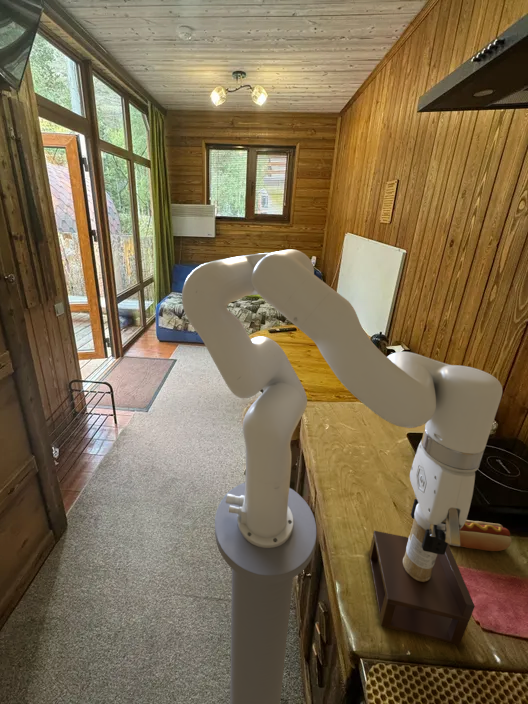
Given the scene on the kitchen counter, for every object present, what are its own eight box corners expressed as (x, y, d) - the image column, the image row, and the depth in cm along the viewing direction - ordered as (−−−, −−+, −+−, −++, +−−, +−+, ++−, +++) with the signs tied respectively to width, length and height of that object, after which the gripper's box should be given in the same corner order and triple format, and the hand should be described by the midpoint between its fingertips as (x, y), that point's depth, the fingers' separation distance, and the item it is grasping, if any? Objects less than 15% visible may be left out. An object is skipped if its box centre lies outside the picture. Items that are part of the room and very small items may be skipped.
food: (495, 533, 69) (501, 516, 67) (513, 558, 63) (520, 541, 62) (429, 525, 70) (434, 509, 69) (441, 550, 65) (447, 532, 63)
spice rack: (381, 626, 53) (391, 586, 49) (368, 555, 64) (376, 519, 61) (459, 646, 50) (475, 606, 47) (432, 569, 61) (443, 532, 58)
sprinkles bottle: (412, 551, 58) (427, 496, 53) (436, 575, 54) (454, 518, 50) (396, 563, 56) (410, 506, 51) (420, 588, 52) (437, 530, 48)
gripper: (407, 410, 55) (390, 489, 61) (446, 486, 39) (418, 584, 45) (453, 416, 54) (432, 496, 59) (514, 498, 38) (476, 597, 43)
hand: (426, 533), depth 52 cm, fingers open, 5 cm apart
